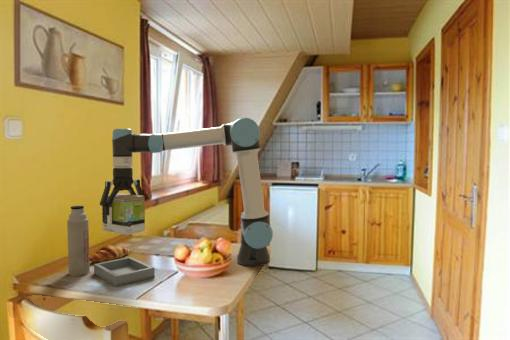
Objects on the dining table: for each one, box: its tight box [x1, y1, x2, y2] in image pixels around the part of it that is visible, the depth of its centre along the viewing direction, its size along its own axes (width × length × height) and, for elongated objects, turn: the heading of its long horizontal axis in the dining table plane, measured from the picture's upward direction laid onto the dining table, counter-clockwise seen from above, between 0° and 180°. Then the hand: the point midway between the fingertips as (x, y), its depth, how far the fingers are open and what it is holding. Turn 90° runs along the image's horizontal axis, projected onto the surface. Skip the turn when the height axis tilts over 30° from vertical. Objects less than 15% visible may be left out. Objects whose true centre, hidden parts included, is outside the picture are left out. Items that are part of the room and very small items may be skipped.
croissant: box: [89, 244, 131, 263], centre depth 185 cm, size 21×10×8 cm, turn 146°
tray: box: [93, 256, 156, 288], centre depth 161 cm, size 21×16×4 cm
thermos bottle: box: [66, 205, 91, 277], centre depth 164 cm, size 8×8×28 cm
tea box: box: [101, 193, 146, 236], centre depth 160 cm, size 15×10×15 cm, turn 56°
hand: (123, 221), depth 160 cm, fingers closed on tea box, 11 cm apart
